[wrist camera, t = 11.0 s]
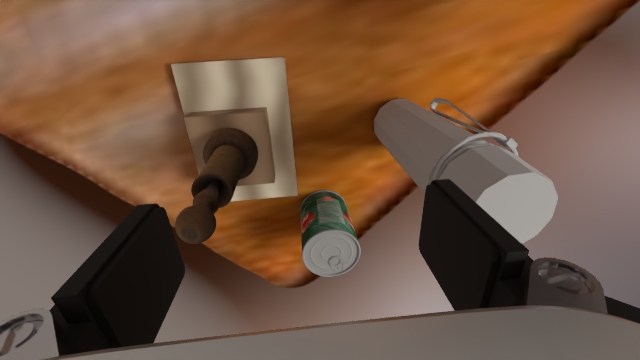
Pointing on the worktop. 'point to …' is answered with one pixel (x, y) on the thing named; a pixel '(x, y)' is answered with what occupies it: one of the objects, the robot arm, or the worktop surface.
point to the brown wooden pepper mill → (216, 182)
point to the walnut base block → (242, 119)
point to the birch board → (239, 93)
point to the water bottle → (467, 164)
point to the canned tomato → (327, 234)
